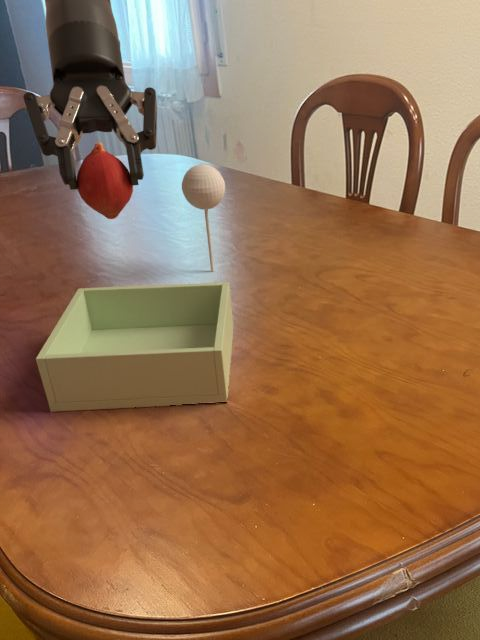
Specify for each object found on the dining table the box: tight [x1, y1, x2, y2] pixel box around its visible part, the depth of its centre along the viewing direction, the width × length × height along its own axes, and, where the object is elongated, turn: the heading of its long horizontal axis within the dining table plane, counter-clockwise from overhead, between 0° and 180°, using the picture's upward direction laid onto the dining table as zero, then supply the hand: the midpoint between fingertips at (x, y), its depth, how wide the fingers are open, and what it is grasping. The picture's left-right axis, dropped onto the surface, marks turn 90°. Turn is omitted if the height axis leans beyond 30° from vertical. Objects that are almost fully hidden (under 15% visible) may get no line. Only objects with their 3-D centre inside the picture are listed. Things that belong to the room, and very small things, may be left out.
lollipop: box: [181, 164, 226, 273], centre depth 94 cm, size 6×6×15 cm
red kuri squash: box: [76, 141, 134, 220], centre depth 71 cm, size 6×6×8 cm
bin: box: [35, 281, 234, 413], centre depth 72 cm, size 18×18×6 cm
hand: (104, 182), depth 69 cm, fingers closed on red kuri squash, 5 cm apart
